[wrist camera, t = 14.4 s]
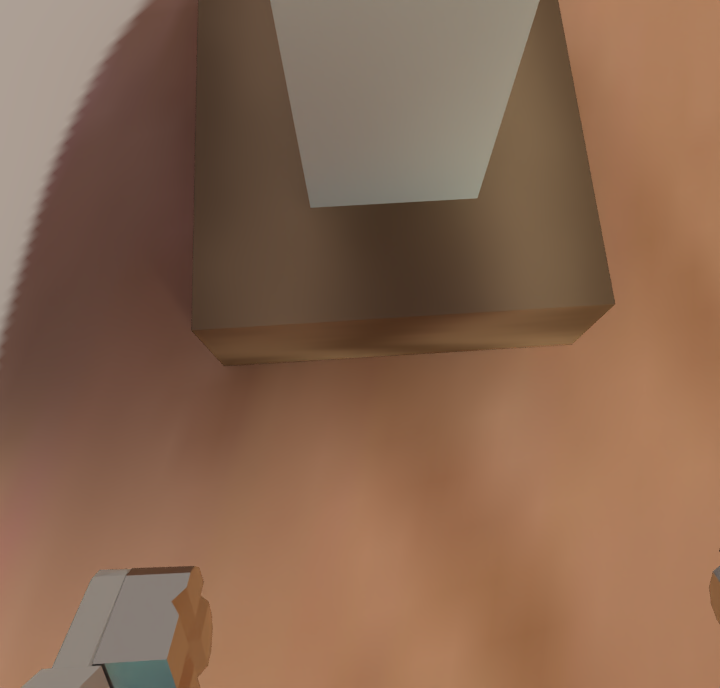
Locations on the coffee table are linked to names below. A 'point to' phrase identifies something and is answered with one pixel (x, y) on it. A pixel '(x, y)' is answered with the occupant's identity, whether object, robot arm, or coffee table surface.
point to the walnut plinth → (385, 221)
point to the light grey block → (398, 93)
